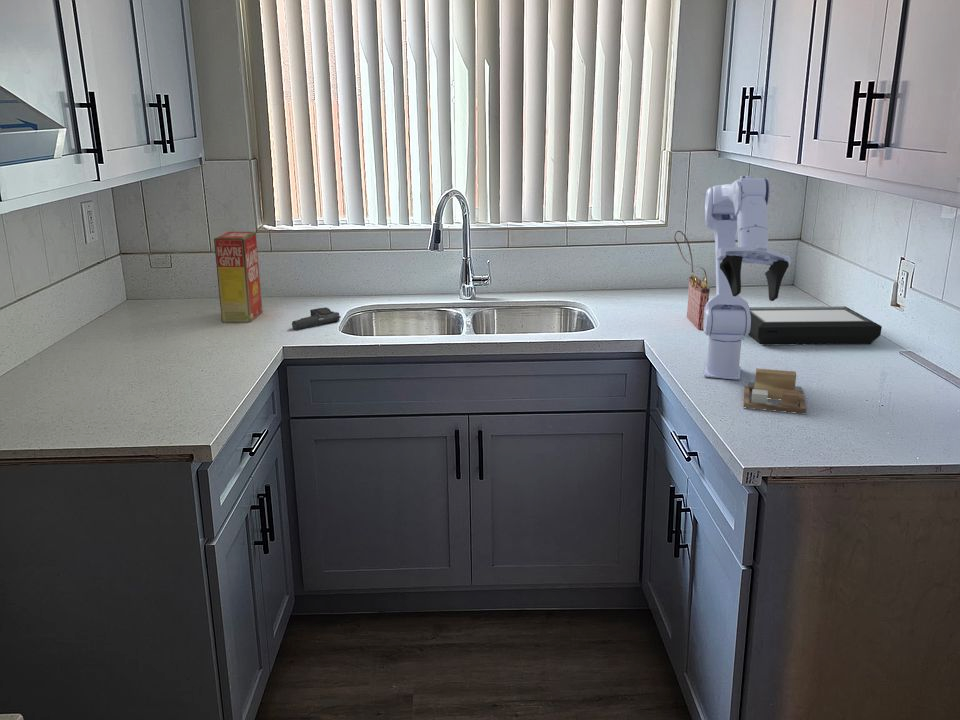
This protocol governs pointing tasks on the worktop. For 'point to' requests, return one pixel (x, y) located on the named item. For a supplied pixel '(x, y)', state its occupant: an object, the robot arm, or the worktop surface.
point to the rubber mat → (795, 386)
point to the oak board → (774, 381)
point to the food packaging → (238, 276)
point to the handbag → (696, 295)
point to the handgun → (316, 318)
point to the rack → (774, 407)
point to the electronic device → (811, 326)
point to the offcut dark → (790, 398)
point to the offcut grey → (759, 396)
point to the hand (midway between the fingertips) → (755, 296)
